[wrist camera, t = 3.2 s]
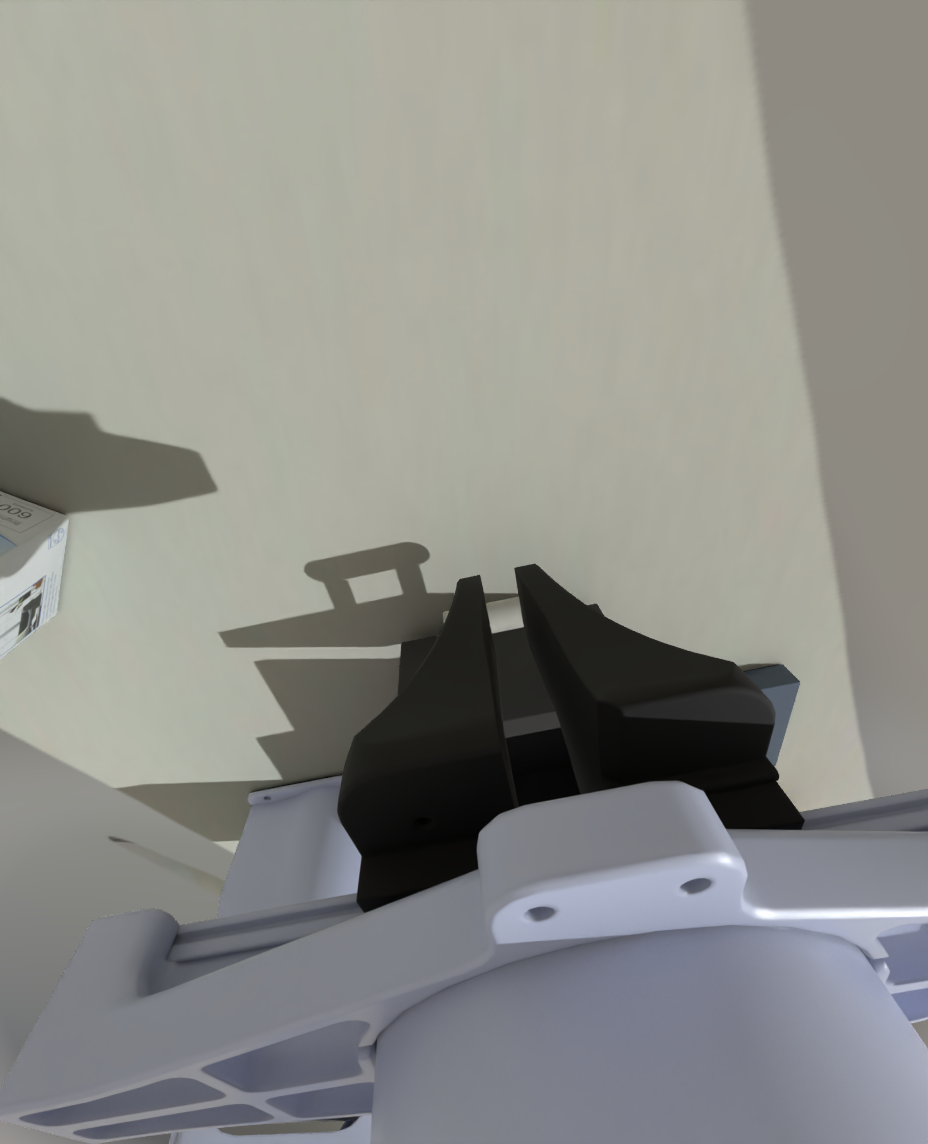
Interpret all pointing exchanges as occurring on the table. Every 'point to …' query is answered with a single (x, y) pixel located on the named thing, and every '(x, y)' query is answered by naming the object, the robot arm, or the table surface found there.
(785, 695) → the panel
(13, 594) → the light bulb box
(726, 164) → the table surface
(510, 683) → the drawer
